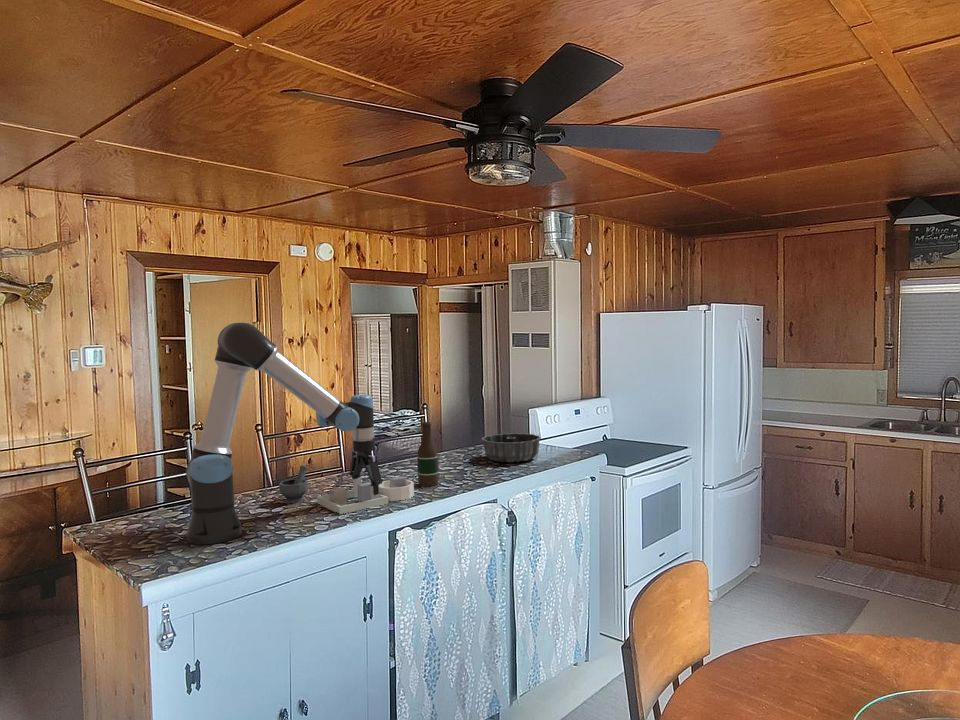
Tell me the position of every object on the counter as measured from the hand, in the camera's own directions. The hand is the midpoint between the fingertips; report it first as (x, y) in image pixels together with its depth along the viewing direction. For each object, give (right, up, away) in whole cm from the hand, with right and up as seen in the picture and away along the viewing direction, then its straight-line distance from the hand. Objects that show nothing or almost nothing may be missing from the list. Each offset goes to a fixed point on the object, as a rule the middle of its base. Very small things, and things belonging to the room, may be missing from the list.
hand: (366, 500), depth 228 cm
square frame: (-4, 0, -3) cm, 5 cm away
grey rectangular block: (+11, +1, +4) cm, 11 cm away
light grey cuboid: (0, 0, 0) cm, 0 cm away
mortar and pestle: (-25, -1, +3) cm, 26 cm away
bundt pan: (+54, +4, +64) cm, 83 cm away
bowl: (+10, 0, +5) cm, 11 cm away
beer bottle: (+20, +1, +21) cm, 29 cm away
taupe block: (-8, -1, -6) cm, 11 cm away
